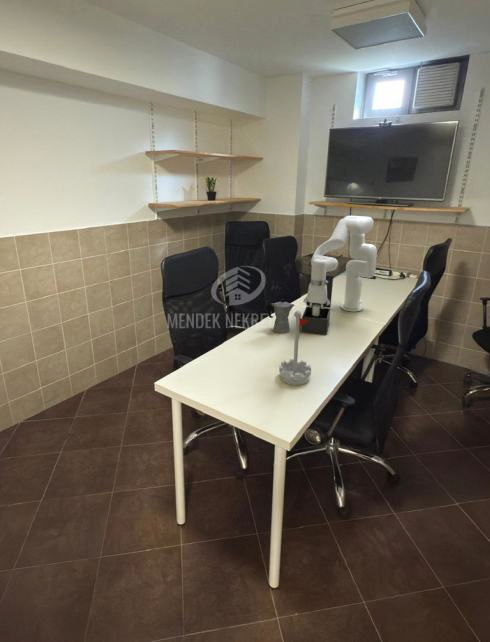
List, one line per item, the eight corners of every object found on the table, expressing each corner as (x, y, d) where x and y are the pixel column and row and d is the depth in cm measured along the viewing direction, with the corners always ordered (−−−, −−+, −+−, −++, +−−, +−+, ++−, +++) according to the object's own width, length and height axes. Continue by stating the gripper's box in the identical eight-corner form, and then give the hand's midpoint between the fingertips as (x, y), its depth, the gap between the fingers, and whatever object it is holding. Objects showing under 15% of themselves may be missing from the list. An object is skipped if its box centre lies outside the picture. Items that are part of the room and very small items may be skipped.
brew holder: (313, 326, 202) (314, 311, 199) (322, 329, 197) (323, 314, 195) (307, 329, 198) (308, 314, 195) (316, 332, 194) (317, 317, 191)
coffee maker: (326, 334, 191) (327, 319, 188) (301, 331, 195) (302, 316, 192) (329, 322, 207) (330, 308, 204) (305, 320, 211) (306, 306, 208)
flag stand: (289, 389, 141) (292, 319, 132) (273, 373, 153) (275, 308, 143) (316, 382, 146) (321, 313, 137) (299, 367, 158) (302, 303, 148)
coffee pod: (315, 312, 198) (315, 303, 196) (321, 314, 195) (322, 305, 193) (310, 314, 195) (310, 305, 194) (316, 316, 192) (317, 307, 190)
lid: (333, 275, 201) (333, 275, 205) (308, 274, 205) (309, 273, 209) (330, 307, 203) (331, 306, 208) (306, 305, 208) (307, 304, 212)
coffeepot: (291, 326, 202) (293, 296, 197) (295, 333, 193) (296, 301, 188) (264, 327, 202) (265, 296, 196) (266, 333, 193) (267, 302, 187)
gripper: (334, 281, 190) (332, 313, 196) (303, 279, 195) (301, 310, 201) (334, 285, 183) (331, 318, 189) (301, 282, 188) (299, 315, 194)
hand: (315, 314), depth 195 cm, fingers closed on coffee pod, 4 cm apart
